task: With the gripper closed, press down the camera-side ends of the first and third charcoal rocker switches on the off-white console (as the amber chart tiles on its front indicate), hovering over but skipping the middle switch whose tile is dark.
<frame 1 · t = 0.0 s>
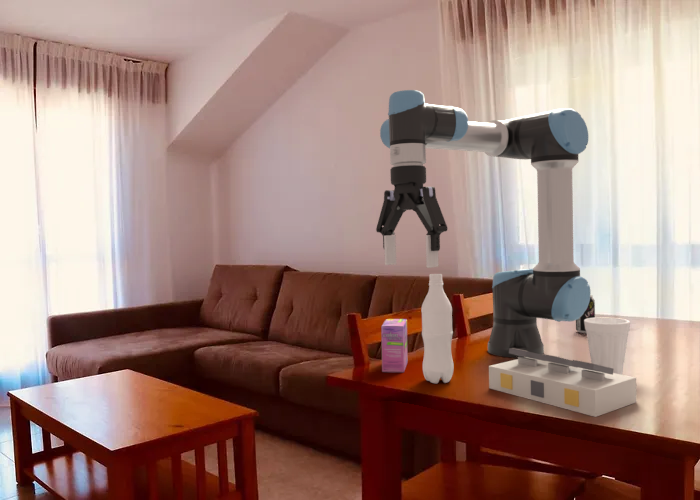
hand: (410, 266, 129), 28 cm above the table, fingers open, 13 cm apart
switch 3: (592, 367, 121), point 7 cm above the table, hinge at -17.0°
box: (395, 368, 156), on the table
switch 1: (527, 354, 134), point 7 cm above the table, hinge at -17.0°
console: (559, 394, 128), on the table
cup: (607, 377, 142), on the table
beverage can: (585, 332, 195), on the table
switch 2: (558, 360, 128), point 7 cm above the table, hinge at -17.0°
water bottle: (438, 381, 142), on the table
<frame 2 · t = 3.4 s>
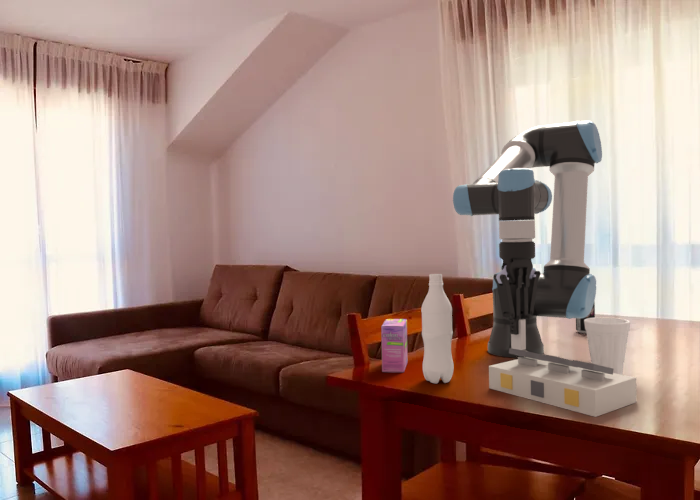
hand: (518, 348, 132), 9 cm above the table, fingers closed
switch 1: (527, 354, 134), point 7 cm above the table, hinge at -16.9°, touching gripper
everything else where it was.
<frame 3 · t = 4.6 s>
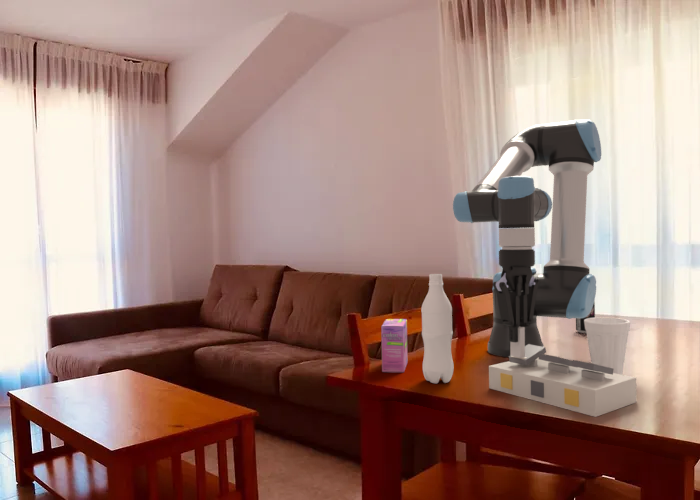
hand: (517, 356, 132), 7 cm above the table, fingers closed
switch 1: (527, 354, 134), point 7 cm above the table, hinge at 15.5°, touching gripper
everything else where it was.
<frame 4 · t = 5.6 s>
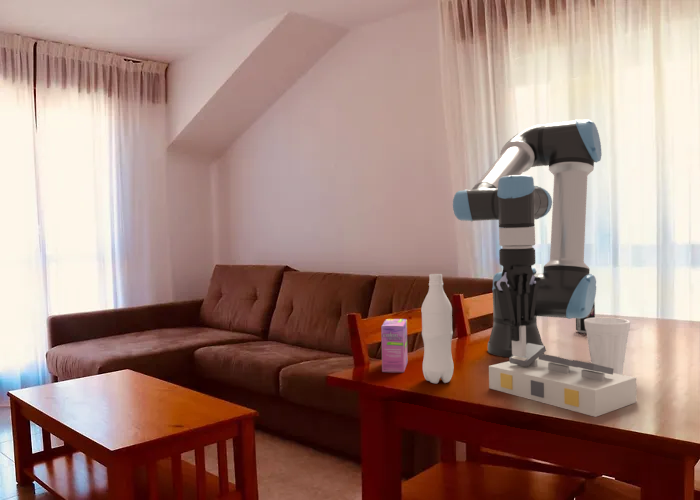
hand: (519, 354, 133), 8 cm above the table, fingers closed
switch 1: (527, 354, 134), point 7 cm above the table, hinge at 20.5°
everything else where it was.
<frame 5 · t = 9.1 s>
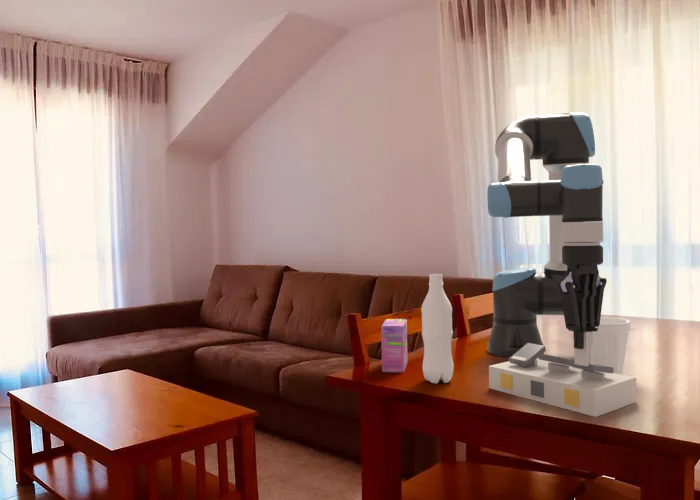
hand: (583, 364, 119), 8 cm above the table, fingers closed
switch 3: (592, 367, 121), point 7 cm above the table, hinge at -13.1°, touching gripper
switch 1: (527, 354, 134), point 7 cm above the table, hinge at 21.1°
everything else where it was.
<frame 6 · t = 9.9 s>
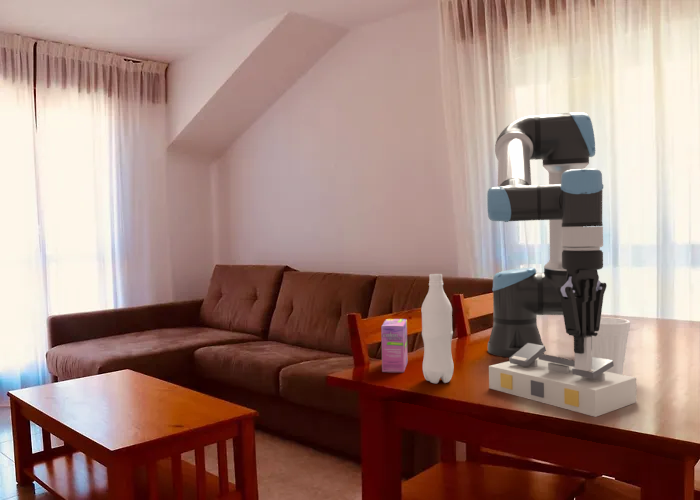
hand: (583, 369, 119), 8 cm above the table, fingers closed
switch 3: (592, 367, 121), point 7 cm above the table, hinge at 11.2°, touching gripper
everything else where it was.
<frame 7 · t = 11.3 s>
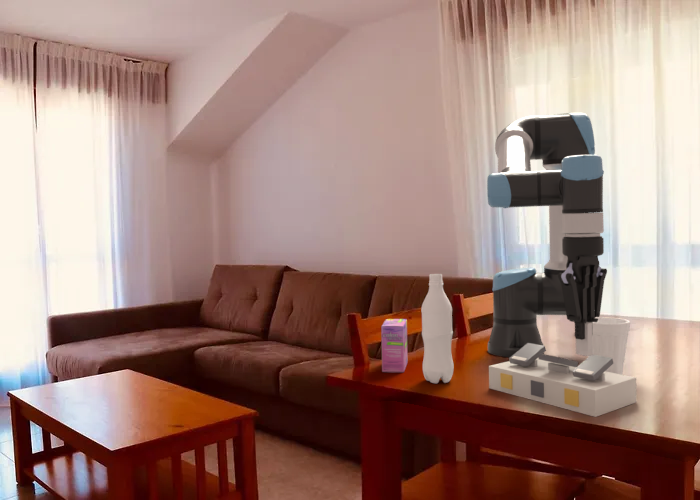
hand: (584, 354, 120), 10 cm above the table, fingers closed
switch 3: (592, 367, 121), point 7 cm above the table, hinge at 20.0°
everything else where it was.
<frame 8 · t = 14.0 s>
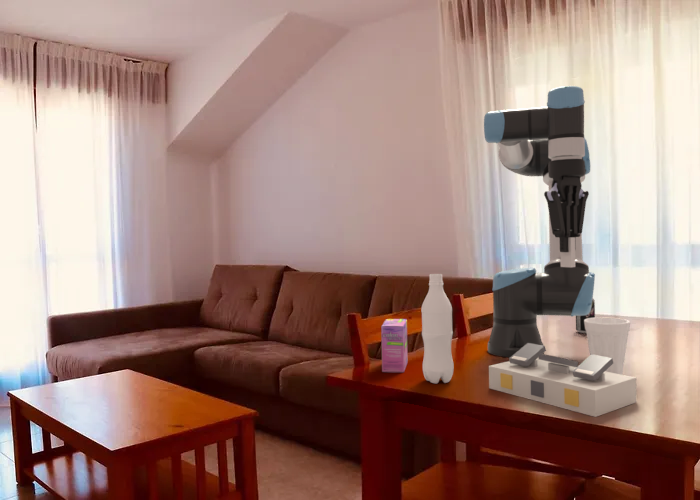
hand: (567, 266, 134), 26 cm above the table, fingers closed
switch 3: (592, 367, 121), point 7 cm above the table, hinge at 20.4°
everything else where it was.
at the end: switch 1 at +21° (first picture: -17°); switch 2 at -17° (first picture: -17°); switch 3 at +20° (first picture: -17°) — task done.
